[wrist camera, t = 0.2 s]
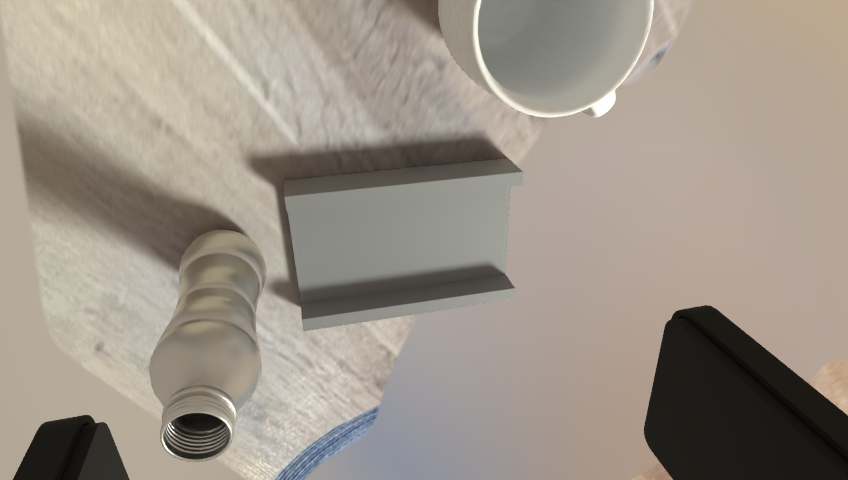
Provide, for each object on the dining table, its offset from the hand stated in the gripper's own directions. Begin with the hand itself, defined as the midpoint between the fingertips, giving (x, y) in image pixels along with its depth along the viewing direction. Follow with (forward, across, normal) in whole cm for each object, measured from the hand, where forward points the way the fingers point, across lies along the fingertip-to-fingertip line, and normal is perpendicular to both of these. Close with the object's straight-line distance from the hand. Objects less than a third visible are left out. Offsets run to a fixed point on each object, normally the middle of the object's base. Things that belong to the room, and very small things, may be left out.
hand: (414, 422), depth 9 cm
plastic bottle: (+37, +9, +15) cm, 41 cm away
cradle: (+37, -6, +15) cm, 40 cm away
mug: (+37, -15, -3) cm, 40 cm away
